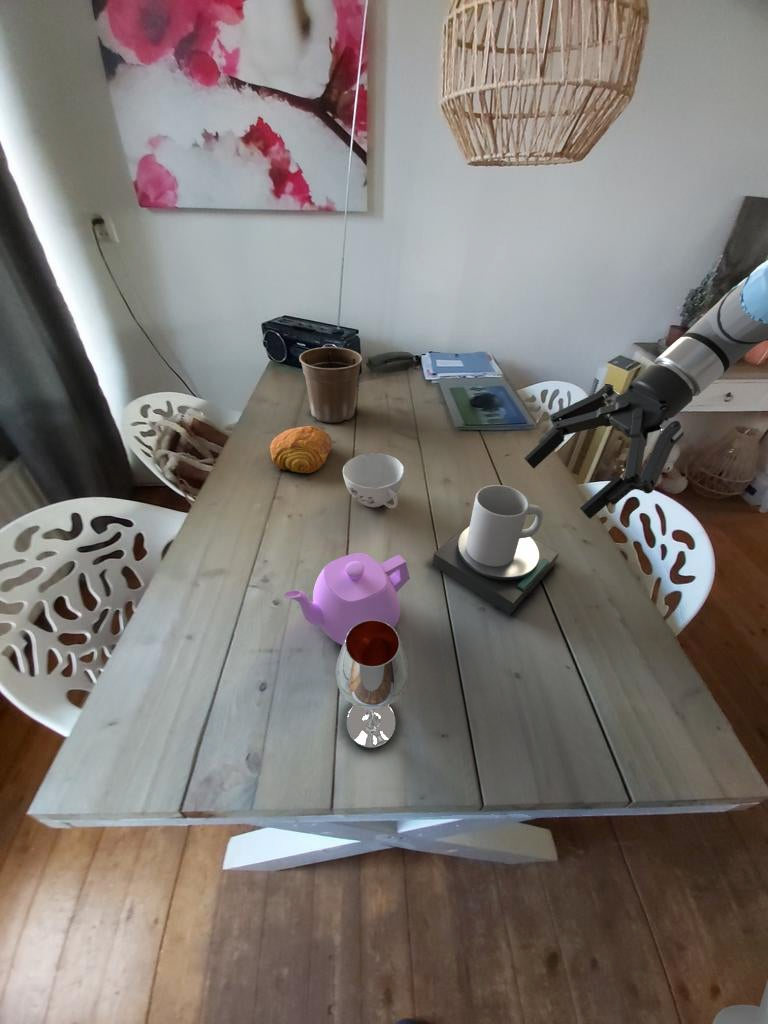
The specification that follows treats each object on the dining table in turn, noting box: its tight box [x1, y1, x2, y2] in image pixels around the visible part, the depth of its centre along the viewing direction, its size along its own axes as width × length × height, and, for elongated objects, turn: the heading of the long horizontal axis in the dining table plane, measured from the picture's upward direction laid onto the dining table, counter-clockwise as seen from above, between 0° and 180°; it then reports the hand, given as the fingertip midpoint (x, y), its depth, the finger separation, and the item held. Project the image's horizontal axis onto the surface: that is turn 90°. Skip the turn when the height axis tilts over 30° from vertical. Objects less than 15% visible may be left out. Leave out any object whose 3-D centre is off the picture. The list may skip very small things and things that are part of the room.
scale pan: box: [458, 526, 539, 580], centre depth 78 cm, size 14×14×1 cm
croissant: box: [269, 425, 332, 474], centre depth 105 cm, size 14×16×8 cm
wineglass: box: [334, 620, 409, 749], centre depth 52 cm, size 8×8×18 cm
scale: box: [432, 524, 560, 616], centre depth 79 cm, size 16×16×4 cm
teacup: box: [342, 452, 405, 509], centre depth 91 cm, size 15×12×8 cm
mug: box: [466, 484, 544, 567], centre depth 74 cm, size 12×8×11 cm
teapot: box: [283, 552, 411, 646], centre depth 67 cm, size 13×20×11 cm, turn 119°
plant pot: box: [298, 346, 363, 424], centre depth 120 cm, size 16×16×16 cm
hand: (554, 487), depth 67 cm, fingers open, 13 cm apart
